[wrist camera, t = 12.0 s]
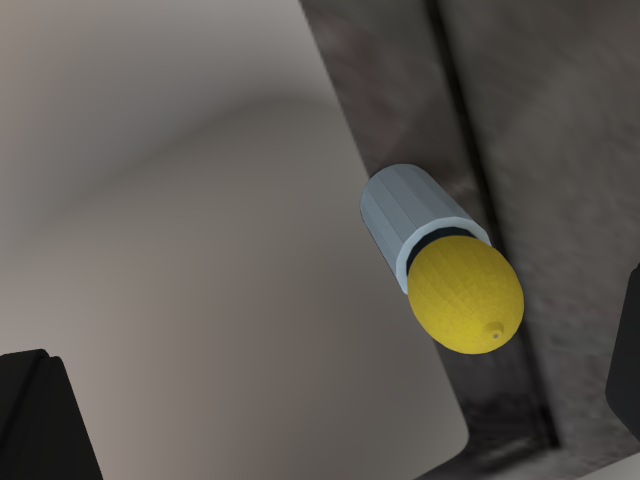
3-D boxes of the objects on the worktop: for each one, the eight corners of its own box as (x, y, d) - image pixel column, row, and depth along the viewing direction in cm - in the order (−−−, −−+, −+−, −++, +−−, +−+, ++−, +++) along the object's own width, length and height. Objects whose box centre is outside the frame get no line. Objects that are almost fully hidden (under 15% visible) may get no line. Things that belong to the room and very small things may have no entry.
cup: (358, 168, 38) (396, 224, 30) (438, 158, 39) (495, 211, 31) (360, 241, 41) (396, 311, 33) (435, 231, 42) (488, 297, 34)
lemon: (498, 236, 34) (575, 311, 26) (445, 308, 35) (503, 397, 28) (425, 197, 32) (486, 267, 25) (372, 276, 33) (415, 362, 26)
